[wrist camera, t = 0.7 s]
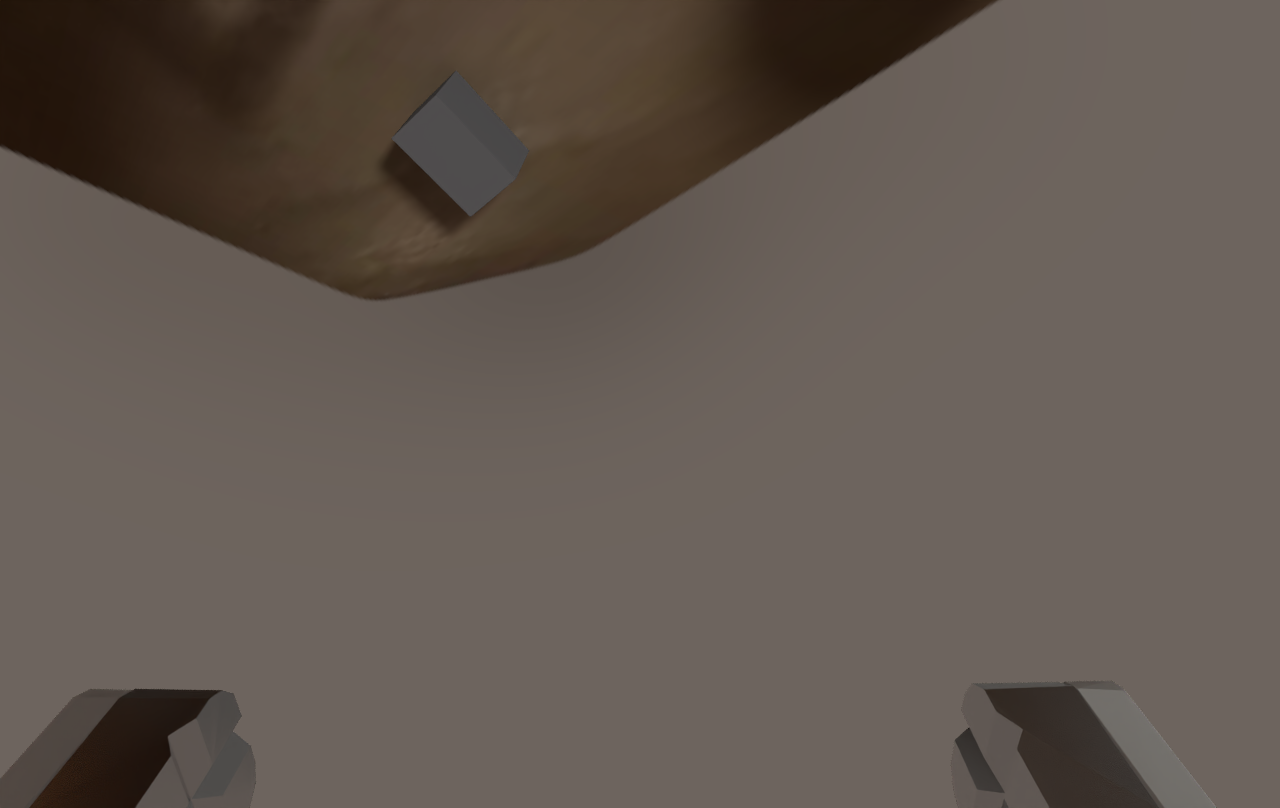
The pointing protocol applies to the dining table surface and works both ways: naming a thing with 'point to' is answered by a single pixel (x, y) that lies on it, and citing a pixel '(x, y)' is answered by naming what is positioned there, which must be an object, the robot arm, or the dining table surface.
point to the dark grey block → (462, 144)
